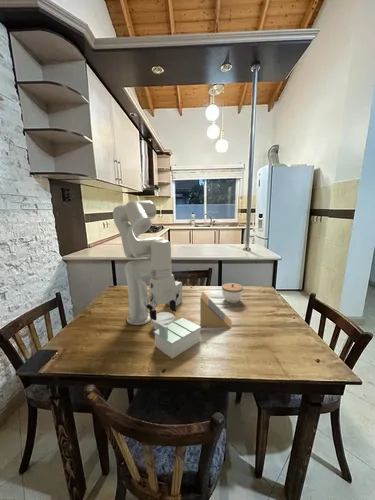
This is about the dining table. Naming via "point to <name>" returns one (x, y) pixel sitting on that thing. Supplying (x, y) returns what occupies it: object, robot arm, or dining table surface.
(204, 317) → the sandwich container
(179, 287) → the supplement box
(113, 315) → the dining table surface
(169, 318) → the ramekin
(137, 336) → the dining table surface
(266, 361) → the dining table surface
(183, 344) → the box
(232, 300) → the lidded bowl
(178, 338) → the lid
